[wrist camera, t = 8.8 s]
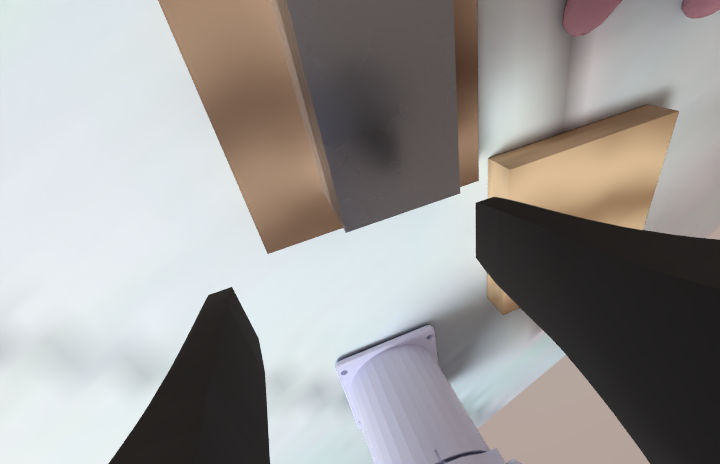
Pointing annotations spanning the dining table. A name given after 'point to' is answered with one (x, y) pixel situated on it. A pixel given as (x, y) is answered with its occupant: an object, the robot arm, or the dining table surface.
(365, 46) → the grey rectangular block
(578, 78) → the dining table surface
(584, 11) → the video game controller
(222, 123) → the walnut stand
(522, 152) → the oak stand
